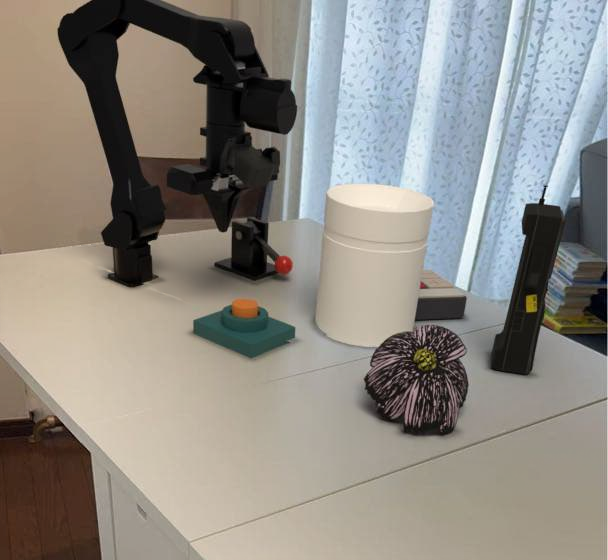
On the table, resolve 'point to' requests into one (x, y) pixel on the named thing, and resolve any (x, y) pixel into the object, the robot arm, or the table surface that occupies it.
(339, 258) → the canister
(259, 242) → the switch lever
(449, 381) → the decorative flower
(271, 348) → the button block
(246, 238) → the switch bracket
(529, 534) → the table surface
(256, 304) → the button
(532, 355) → the portable radio
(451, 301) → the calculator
